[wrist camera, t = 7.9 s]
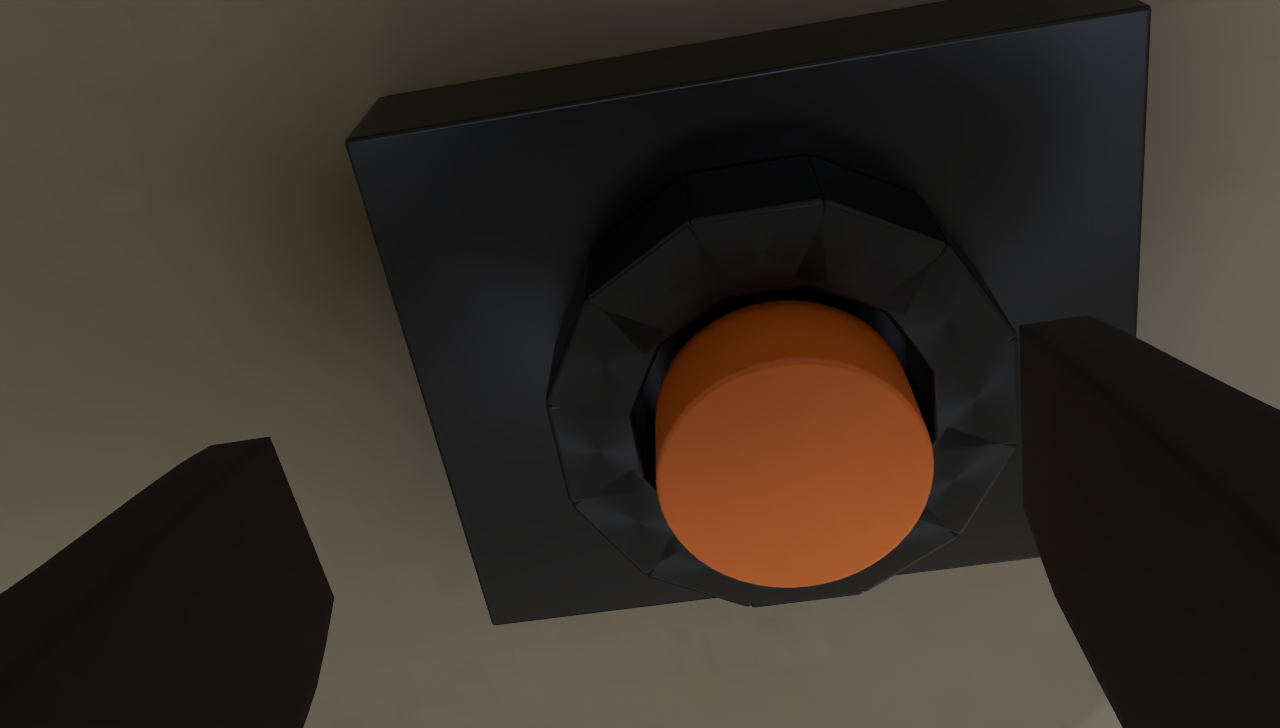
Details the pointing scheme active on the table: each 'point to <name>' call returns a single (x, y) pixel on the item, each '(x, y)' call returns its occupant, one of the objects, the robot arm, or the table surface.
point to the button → (790, 445)
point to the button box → (750, 263)
